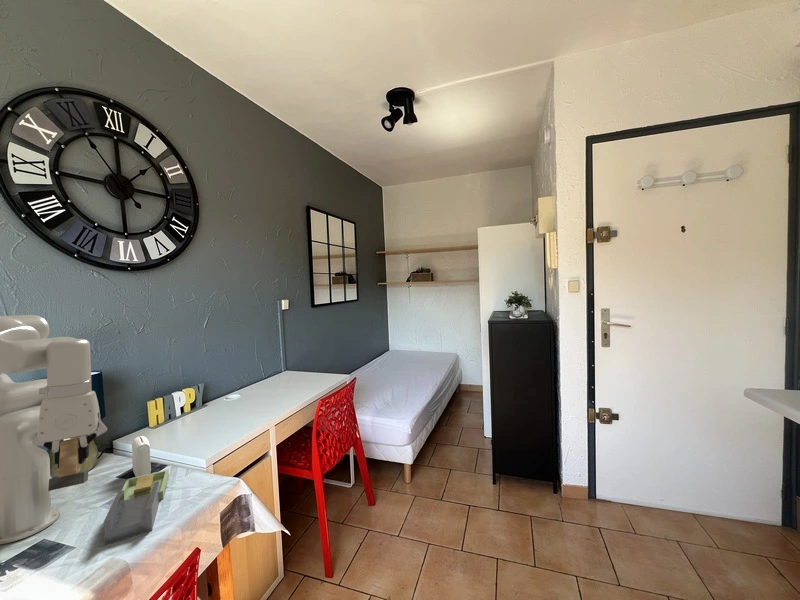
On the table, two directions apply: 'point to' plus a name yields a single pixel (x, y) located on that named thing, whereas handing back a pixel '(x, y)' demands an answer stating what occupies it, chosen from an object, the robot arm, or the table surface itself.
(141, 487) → the yellow wooden cube
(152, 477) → the yellow cube
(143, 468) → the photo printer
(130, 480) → the chip tray
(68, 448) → the t-shaped hammer
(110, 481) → the table surface
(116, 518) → the channel
